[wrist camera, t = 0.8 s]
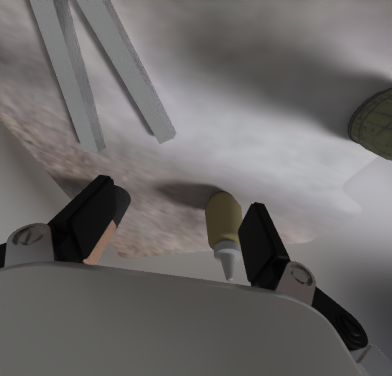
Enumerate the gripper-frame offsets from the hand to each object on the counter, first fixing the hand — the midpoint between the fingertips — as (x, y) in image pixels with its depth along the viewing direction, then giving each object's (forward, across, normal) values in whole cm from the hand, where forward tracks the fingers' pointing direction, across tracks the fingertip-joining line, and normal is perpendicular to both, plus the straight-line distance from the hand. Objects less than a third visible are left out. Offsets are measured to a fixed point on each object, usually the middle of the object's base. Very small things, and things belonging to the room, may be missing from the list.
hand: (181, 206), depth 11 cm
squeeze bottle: (+22, -10, +16) cm, 29 cm away
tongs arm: (+22, +10, -6) cm, 25 cm away
